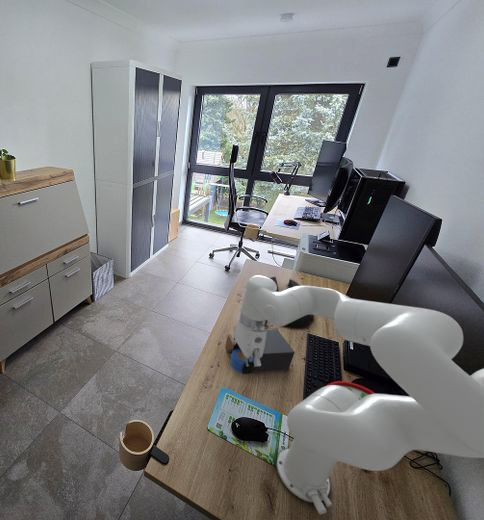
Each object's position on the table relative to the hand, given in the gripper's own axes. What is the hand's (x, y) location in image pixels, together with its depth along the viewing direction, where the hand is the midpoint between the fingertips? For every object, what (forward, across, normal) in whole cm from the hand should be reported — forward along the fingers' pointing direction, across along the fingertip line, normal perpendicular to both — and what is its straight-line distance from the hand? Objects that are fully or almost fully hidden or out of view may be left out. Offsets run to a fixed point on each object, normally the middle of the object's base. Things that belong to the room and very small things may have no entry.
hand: (241, 363), depth 89 cm
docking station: (+18, +52, -50) cm, 74 cm away
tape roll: (+1, 0, 0) cm, 1 cm away
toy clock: (+18, -10, -36) cm, 42 cm away
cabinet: (+18, +17, -20) cm, 32 cm away
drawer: (+17, +17, -12) cm, 27 cm away
